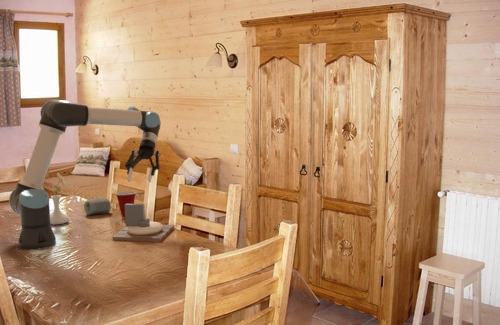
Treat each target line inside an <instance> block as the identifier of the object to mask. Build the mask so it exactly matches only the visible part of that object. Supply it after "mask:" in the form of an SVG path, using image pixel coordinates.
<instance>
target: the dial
mask: <svg viewBox="0 0 500 325" xmlns="http://www.w3.org/2000/svg"><path fill="white" fill-rule="evenodd" d="M145 212H146V211H145V203H134V204H125V216H124V219H125V221H124V223H125V227H126V226H127V227H126V228H127V233H129V234H133V235H149V234H154V233H158V232H160V231H161V230H162V225H163V224H162V223H161V222H157V221H151V220H150V217H149V218H147V217H146V216H145Z"/></svg>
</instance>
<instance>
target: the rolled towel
mask: <svg viewBox="0 0 500 325" xmlns="http://www.w3.org/2000/svg"><path fill="white" fill-rule="evenodd" d="M83 204H84V205H83V208H84V212H85V214H86V215H88V216H93V215H98V214H99V215H100V214H108V213H109V212H110V211H111V207H112V206H111V201H110V200H109V199H108V198H104V197H101V198H100V197H99V198H93V199H92V198H91V199H88V200H86V201H85V202H84V203H83Z"/></svg>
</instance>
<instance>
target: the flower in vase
mask: <svg viewBox="0 0 500 325" xmlns="http://www.w3.org/2000/svg"><path fill="white" fill-rule="evenodd" d="M56 176H57V179H58V180H59V181H58V182H57V185H56V188H55V189H54V190H53V192H52V193H53V194H55V195H51V196H50V198H51V200H52V201H53V208H54V209H53V211H52V213H50V225H61V224H65V223H67V222H69V221H70V217H69V216H68V215H67V214H66V213H64V212H62V211H61V210H60V200H61V197H62V195H60V194H57V193H61V188H60V187H58V186H59V184H61V185H62V186H63V187H67V186H68V185H67V184H68V183H67V182H66V179H65V178H64V177H63V175H61V173H60V172H57V173H56Z"/></svg>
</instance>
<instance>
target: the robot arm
mask: <svg viewBox="0 0 500 325" xmlns="http://www.w3.org/2000/svg"><path fill="white" fill-rule="evenodd" d="M161 123H162V122H161V118H160V115H159V114H158V113H157V112H155V111H153V110H152V111H150V110H140V109H138V108H137V107H136V106H129V107H128V108H127V109H119V108H107V107H95V106H94V107H93V106H91V107H90V106H88V104H85V103H76V102H73V101H68V100H61V99H51V100H47V101H46V102H45V103H44V104H42V106H41V109H40V120H39V123H38V126H39V127H40V131H39V134H38V136H37V140H36V142H35V145H34V147H33V150H32V153H31V156H30V159H29V162H28V165H27V167H26V169H25V172H24V176H23V178H22V179H21V180H20V181H18V182H17V184H16V187H15V189H14V190H12V192H11V193H10V194H9V199H8V202H9V206H10V207H11V209H12V210H13V211H14V213H16V214H18V215H19V216H20V221H21V222H20V224H21V230H20V233H19V237H18V245H17V246H18V248H19V249H21V250H28V251H29V250H30V251H34V250H42V249H45V248H50V247H53V246H54V245H56V244H57V239H56V235H55V233H54V231H53V228H52V224H50V215H51V213H50V212H51V211H50V197H49V193H48V192H47V190H45V188H44V186H43V185H44V182H45V179H46V176H47V174H48V173H47V172H48V170H49V168H50V165H51V162H52V159H53V156H54V153H55V150H56V148H57V144H58V142H59V139H60V137H61V135H63V134H65V132H66V130H67V128H68V127H86V126H87V125H101V126H103V125H104V126H106V125H107V126H120V127H121V126H122V127H123V126H124V127H126V126H127V127H136V128H138V129H139V130H141V131H142V136H141V139H140V144H139V147H138V150H137V151H136V150H131V154H130V156H129V158H128V159H127V161H126V162H125V165H124V167H125V169H126V173H127V179H126V180H127V182H128V183H131V180H132V176H133V172H134V168H135V167H136V166H137V165H138V164H139V162H141V161H142V160H148V161H149V163H150V165H151V167H150V168H149V173H148V177H147V180H148V182H149V183H151V182H152V178H153V177H154V176H155V172H156V170H160V168H161V167H160V156H161V155H160V152H159V150H156V145H157V140H158V137H159V133H160V129H161ZM155 150H156V151H155ZM153 156H155V164H154V161H153V159H152V157H153Z"/></svg>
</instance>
